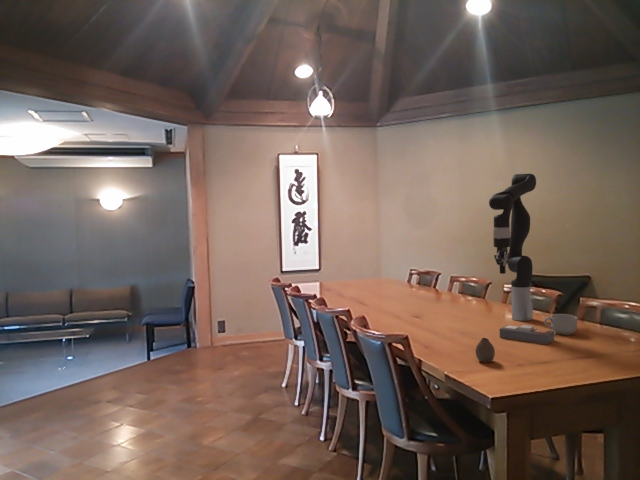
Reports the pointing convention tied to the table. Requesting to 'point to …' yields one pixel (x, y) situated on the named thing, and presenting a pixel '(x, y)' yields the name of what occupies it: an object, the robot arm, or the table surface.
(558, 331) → the teacup
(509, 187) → the robot arm
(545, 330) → the key terracotta
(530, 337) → the keypad
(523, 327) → the key grey
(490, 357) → the vase
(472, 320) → the table surface
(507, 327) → the key ivory
